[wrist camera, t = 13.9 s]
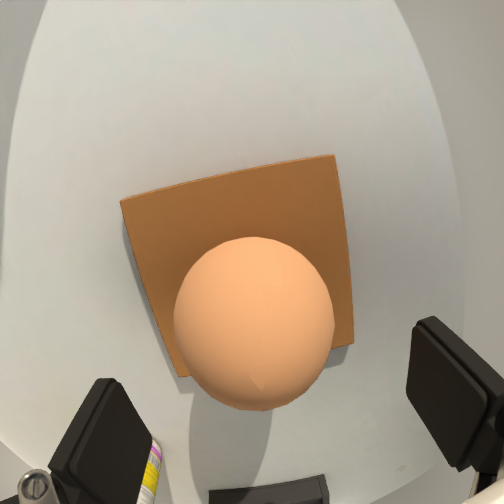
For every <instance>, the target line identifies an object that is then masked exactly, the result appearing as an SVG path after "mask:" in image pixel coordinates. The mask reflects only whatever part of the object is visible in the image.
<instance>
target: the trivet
mask: <svg viewBox="0 0 504 504" xmlns="http://www.w3.org/2000/svg"><path fill="white" fill-rule="evenodd" d="M120 205H121V209H122V213H123V217H124V221H125V224H126V228H127V232H128V236H129V239H130V243H131V246H132V250H133V253H134V256H135V260H136V263H137V266H138V269H139V273H140V276H141V279H142V282H143V285H144V288H145V291H146V294H147V297H148V300H149V303H150V306H151V308H152V311H153V314H154V317H155V320H156V322H157V325H158V328H159V330H160V333H161V335H162V338H163V341H164V343H165V346H166V348H167V351H168V353H169V356H170V358H171V361H172V363H173V365H174V368H175V370H176V372H177V375H178V377H186V376H191V375H190V373H189V371H188V370H187V368H186V366H185V364H184V362H183V360H182V357H181V355H180V352H179V350H178V347H177V345H176V341H175V332H174V308H175V304H176V299H177V296H178V293H179V290H180V288H181V286H182V283H183V281H184V278H185V277H186V275H187V273H188V272H189V270H190V269H191V268H192V266H193V265H194V264H195V263H196V262H197V261H198V260H199V259H200V258H201V257H202V256H203V255H204V254H205V253H206V252H208V251H209V250H211V249H213V248H215V247H217V246H219V245H220V244H222V243H224V242H227V241H231V240H235V239H240V238H244V237H261V238H266V239H272V240H276V241H279V242H281V243H283V244H286V245H288V246H290V247H292V248H293V249H295V250H296V251H298V252H299V253H301V254H302V255H303V256H304V257H305V258H306V259H307V260H308V261H309V262H310V263H311V264H312V265H313V266H314V267H315V268H316V270H317V272H318V273H319V275H320V276H321V278H322V280H323V281H324V283H325V285H326V286H327V289H328V293H329V296H330V299H331V302H332V307H333V314H334V322H335V328H334V334H333V339H332V344H331V349H334V348H338V347H341V346H345V345H349V344H352V343H354V322H353V304H352V289H351V276H350V265H349V255H348V245H347V236H346V228H345V220H344V212H343V205H342V198H341V191H340V184H339V178H338V172H337V166H336V160H335V155H326V156H319V157H312V158H306V159H299V160H293V161H288V162H282V163H276V164H271V165H265V166H260V167H255V168H250V169H245V170H240V171H235V172H230V173H225V174H221V175H216V176H212V177H207V178H203V179H199V180H195V181H190V182H186V183H182V184H178V185H174V186H170V187H166V188H163V189H159V190H155V191H151V192H148V193H144V194H140V195H137V196H133V197H130V198H126V199H123V200H120Z"/></svg>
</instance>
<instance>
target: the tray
mask: <svg viewBox="0 0 504 504" xmlns="http://www.w3.org/2000/svg"><path fill="white" fill-rule="evenodd" d="M209 504H329V491H328V487H327V484H326V480H325V476H324V475H319V476H315V477H311V478H306V479H301V480H296V481H291V482H286V483H280V484H274V485H267V486H260V487H252V488H242V489H231V490H216V491H209Z"/></svg>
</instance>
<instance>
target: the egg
mask: <svg viewBox="0 0 504 504" xmlns="http://www.w3.org/2000/svg"><path fill="white" fill-rule="evenodd" d="M334 328H335V322H334V314H333V307H332V302H331V299H330V296H329V293H328V289H327V286H326V285H325V283H324V281H323V280H322V278H321V276H320V275H319V273H318V272H317V270H316V268H315V267H314V266H313V265H312V264H311V263H310V262H309V261H308V260H307V259H306V258H305V257H304V256H303V255H302V254H301V253H299V252H298V251H296V250H295V249H293V248H292V247H290V246H288V245H286V244H283V243H281V242H279V241H276V240H272V239H266V238H261V237H244V238H240V239H235V240H231V241H227V242H224V243H222V244H220V245H219V246H217V247H215V248H213V249H211V250H209V251H208V252H206V253H205V254H204V255H203V256H202V257H201V258H200V259H199V260H198V261H197V262H196V263H195V264H194V265H193V266H192V268H191V269H190V270H189V272H188V273H187V275H186V277H185V278H184V281H183V283H182V286H181V288H180V290H179V293H178V296H177V299H176V304H175V308H174V332H175V341H176V345H177V347H178V350H179V352H180V355H181V357H182V360H183V362H184V364H185V366H186V368H187V370H188V371H189V373H190V375H191V376H192V377H193V378H194V379H195V381H196V382H197V383H198V384H199V385H200V386H201V387H202V388H203V389H204V390H205V391H206V392H207V393H208V394H209V395H210V396H211V397H212V398H214V399H216V400H218V401H220V402H222V403H224V404H225V405H228V406H231V407H233V408H236V409H239V410H252V411H266V410H270V409H274V408H277V407H281V406H284V405H287V404H289V403H290V402H292V401H293V400H295V399H296V398H298V397H299V396H301V395H302V394H304V393H305V392H306V391H307V390H308V389H309V387H310V386H311V385H312V384H313V383H314V382H315V381H316V379H317V378H318V376H319V375H320V373H321V371H322V370H323V368H324V366H325V364H326V361H327V358H328V355H329V353H330V349H331V344H332V339H333V334H334Z"/></svg>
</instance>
